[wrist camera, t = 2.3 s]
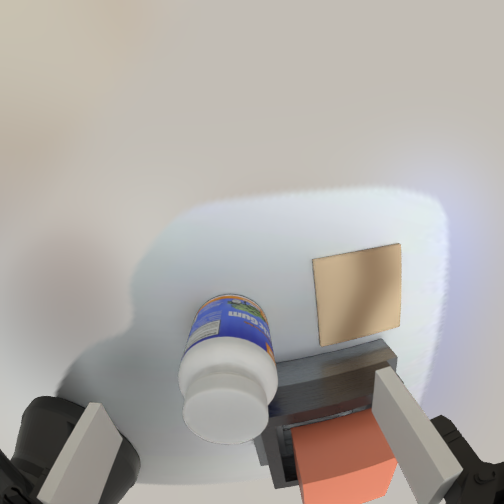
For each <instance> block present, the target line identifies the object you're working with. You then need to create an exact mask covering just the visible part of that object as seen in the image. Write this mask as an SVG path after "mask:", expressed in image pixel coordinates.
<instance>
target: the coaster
mask: <svg viewBox="0 0 504 504" xmlns="http://www.w3.org/2000/svg"><path fill="white" fill-rule="evenodd" d="M312 261H313V270H314V280H315V290H316V301H317V313H318V325H319V339H320V346H321V347H323V346H328V345H332V344H336V343H340V342H344V341H349V340H352V339H356V338H360V337H364V336H368V335H371V334H375V333H379V332H382V331H386V330H389V329H393V328H396V327H399V326H400V311H401V244H393V245H388V246H382V247H377V248H372V249H367V250H361V251H356V252H351V253H345V254H340V255H334V256H329V257H323V258H318V259H312Z"/></svg>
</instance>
